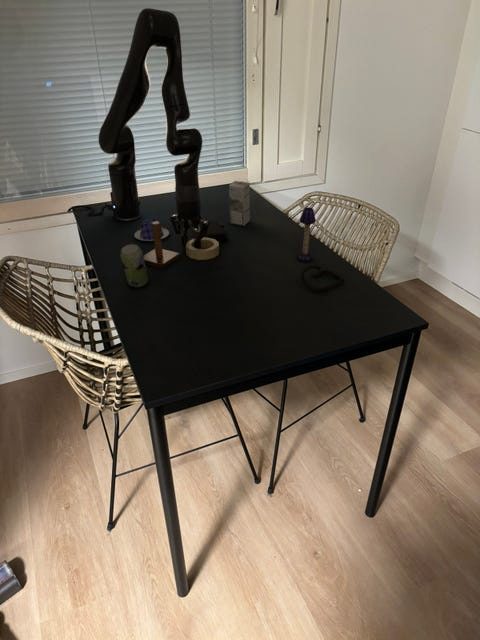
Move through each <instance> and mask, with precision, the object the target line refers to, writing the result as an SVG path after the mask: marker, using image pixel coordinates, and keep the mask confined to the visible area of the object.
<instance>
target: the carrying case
mask: <svg viewBox="0 0 480 640" xmlns="http://www.w3.org/2000/svg"><path fill="white" fill-rule="evenodd" d="M208 221H209V227H208V230H207V234H206V237H204V238H211V239H215V240H216V241H218V242H219V243H220V242H225V240H226V239H227V238H228V233H227V232H226V230H225V225H224V224H222V223H221V222H218V221H217V220H214V219H213V220H208ZM199 226H201V224H199ZM195 229H196V228H195ZM200 230H201V227H200Z"/></svg>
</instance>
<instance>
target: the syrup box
mask: <svg viewBox="0 0 480 640" xmlns="http://www.w3.org/2000/svg"><path fill="white" fill-rule="evenodd" d="M250 189H251V185H250V182H247V181H238V180H235V181H232V182H231V183H230V184H229V185H228V194H229V195H228V196H229V224H231V225H236V226H241V227H242V226H243V227H245V226H246V225H247V224H248V223H250V221H251V214H250V213H251V212H250V211H251V209H250V202H251V201H250V199H251V198H250V197H251V196H250V195H251V193H250V192H251V191H250Z"/></svg>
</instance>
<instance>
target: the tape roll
mask: <svg viewBox="0 0 480 640" xmlns="http://www.w3.org/2000/svg"><path fill="white" fill-rule="evenodd" d="M194 240H195V239H194V238H192V239H190V240H188V242H187V243H186V248H185V254H186V256H187V257H188V258H190V259H193V260H196V261H206V260H210V259H215V258H216V257H217V256H219V254H220V242H218V241H216V240H215V239H211V238H203V239H201V248H200V249H196V248H194Z"/></svg>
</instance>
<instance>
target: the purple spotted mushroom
mask: <svg viewBox="0 0 480 640" xmlns="http://www.w3.org/2000/svg"><path fill="white" fill-rule="evenodd" d="M299 222H300V223H301V224H302V225H304V229H303V230H304V232H303V241H302V244H303V245H302V252H301V253H299V254H298V257H297V260H298V261H299V262H303V263H308V262H312V259H313V258H312V255H311V254H310V253H309V244H310V235H311V225H314V224H315V223H316V215H315V210H314V208H313V207H309V206H307V207H304V208H303V209H302V212H301V215H300V218H299Z"/></svg>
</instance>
